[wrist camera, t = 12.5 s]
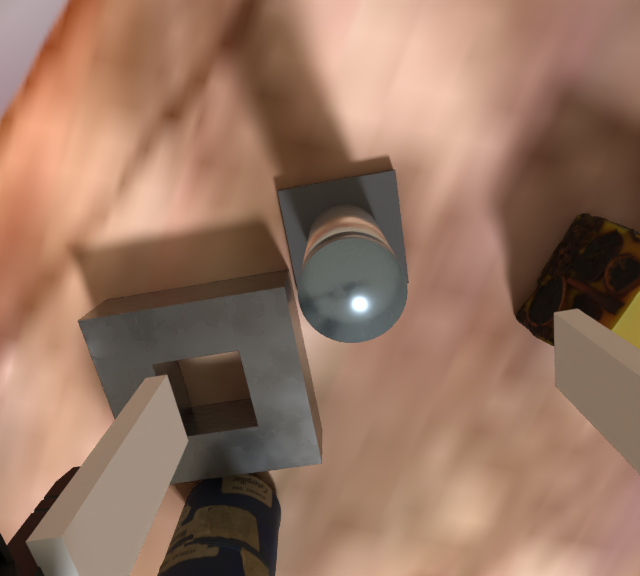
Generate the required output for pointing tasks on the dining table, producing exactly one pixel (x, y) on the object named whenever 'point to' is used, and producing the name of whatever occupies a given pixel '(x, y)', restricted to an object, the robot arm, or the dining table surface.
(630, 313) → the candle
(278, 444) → the housing
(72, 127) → the dining table surface
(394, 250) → the coaster
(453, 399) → the dining table surface
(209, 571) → the canister
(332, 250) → the silver metal cylinder
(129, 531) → the robot arm
